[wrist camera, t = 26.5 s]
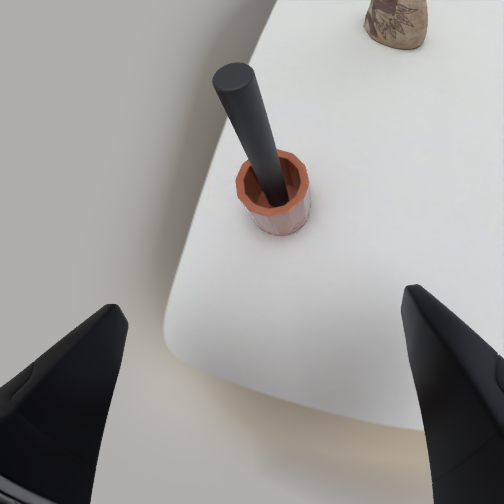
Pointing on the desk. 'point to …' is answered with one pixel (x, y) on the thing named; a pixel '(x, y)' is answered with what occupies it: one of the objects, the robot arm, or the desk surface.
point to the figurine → (397, 22)
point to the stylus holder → (280, 217)
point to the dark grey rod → (252, 127)
